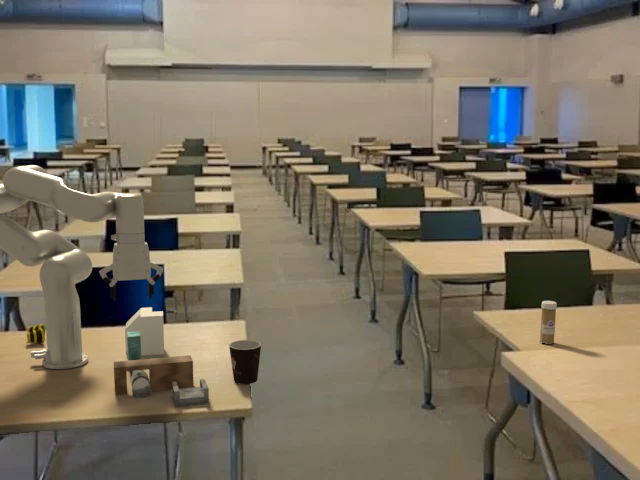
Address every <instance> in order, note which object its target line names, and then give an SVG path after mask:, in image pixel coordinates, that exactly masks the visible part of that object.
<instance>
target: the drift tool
mask: <svg viewBox="0 0 640 480" xmlns="http://www.w3.org/2000/svg"><path fill="white" fill-rule="evenodd" d="M127 351H128V353H127V361H130V360H141V359H142V356H141V336H140V332H139V331H134V332H127ZM137 371H142V370H137ZM131 372H132V375H133V374H134V373H135V372H136V371H131Z"/></svg>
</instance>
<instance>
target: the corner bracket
mask: <svg viewBox="0 0 640 480" xmlns="http://www.w3.org/2000/svg"><path fill="white" fill-rule="evenodd" d="M124 328H125V329H124V335H125V340H124V342H125V354H128V351H127V332H134V331H139V332H140V336H141V357H142V356H144V357H145V356H156V355H157V356H159V355H165V337H164V335H165V331H164V311H163V310H162V311H161V310H159V311H153V307H151V306H149V307H141V308H139V310H137V312H136V313H135V314H133V315H132V316H131V317H130V319H128V320H127V322H126V323H125V327H124Z"/></svg>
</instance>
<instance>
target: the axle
mask: <svg viewBox="0 0 640 480" xmlns="http://www.w3.org/2000/svg"><path fill="white" fill-rule="evenodd" d="M130 380H131V381H130V382H131V388H132V389H131V390H132V393H133V395H134V396H135V397H136V398H139V399H140V398H146V397H147V396H149V394H150V393H151V392H152V391H151V386H150V382H149V374H148V373H147V372H146V371H145V370H141V371H136V372H135V373H134V374H133V373H132V375H131V377H130Z"/></svg>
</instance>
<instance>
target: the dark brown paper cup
mask: <svg viewBox="0 0 640 480" xmlns="http://www.w3.org/2000/svg"><path fill="white" fill-rule="evenodd" d="M228 346H229V347H228V349H229V354H230V361H231V369H232V376H233V377H232V378H233V382H234V381H235V382H234V383H236V384H238V383H240V384H239V385H250V384H255V383H256V382H258V376H259V367H260V359H261V349H262V343H261V342H260V341H257V340H252V339H241V340H235V341H231V342H230V343H229V345H228Z"/></svg>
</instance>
